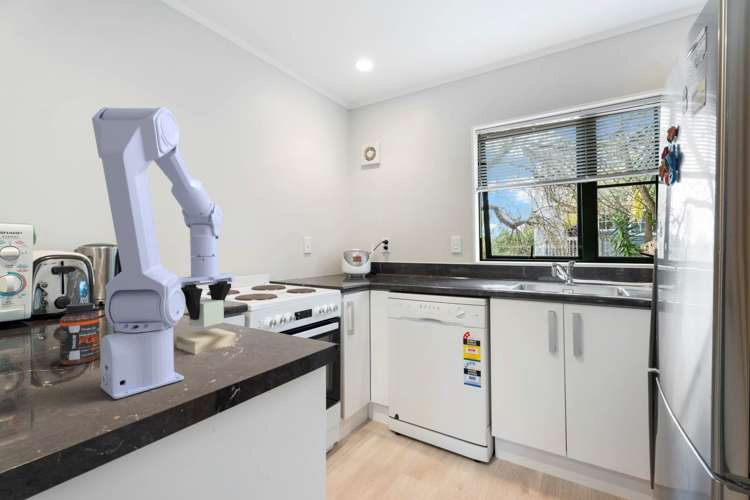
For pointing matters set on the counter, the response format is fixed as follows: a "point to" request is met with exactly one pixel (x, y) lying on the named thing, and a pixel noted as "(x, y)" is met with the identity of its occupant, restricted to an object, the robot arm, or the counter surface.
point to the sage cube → (209, 313)
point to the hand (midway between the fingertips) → (206, 317)
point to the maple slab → (205, 340)
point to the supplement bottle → (79, 334)
